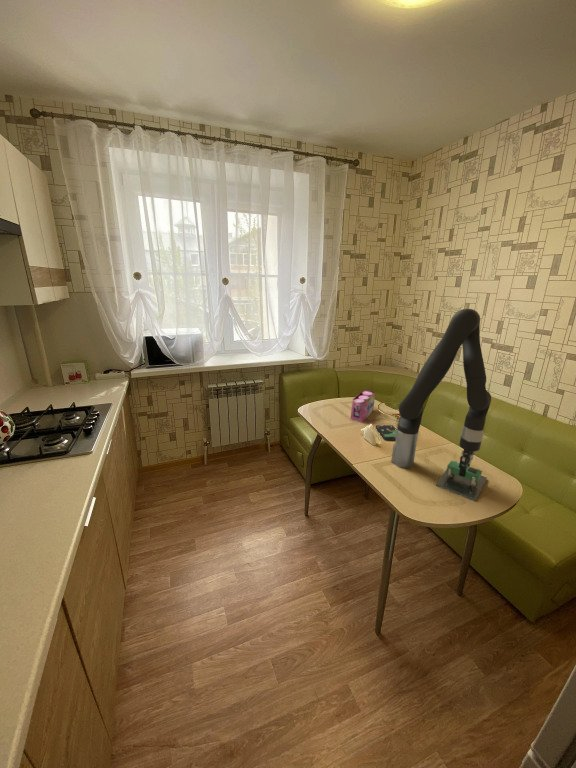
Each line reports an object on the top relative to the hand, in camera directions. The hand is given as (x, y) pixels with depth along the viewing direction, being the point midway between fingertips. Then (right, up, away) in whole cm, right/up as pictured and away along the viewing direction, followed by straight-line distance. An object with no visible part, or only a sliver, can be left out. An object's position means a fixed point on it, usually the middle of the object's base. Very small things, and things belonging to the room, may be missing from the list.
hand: (463, 472), depth 134 cm
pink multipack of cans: (-27, +18, +70) cm, 77 cm away
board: (0, -1, 0) cm, 1 cm away
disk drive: (-18, +9, +44) cm, 49 cm away
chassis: (0, -5, +1) cm, 5 cm away
